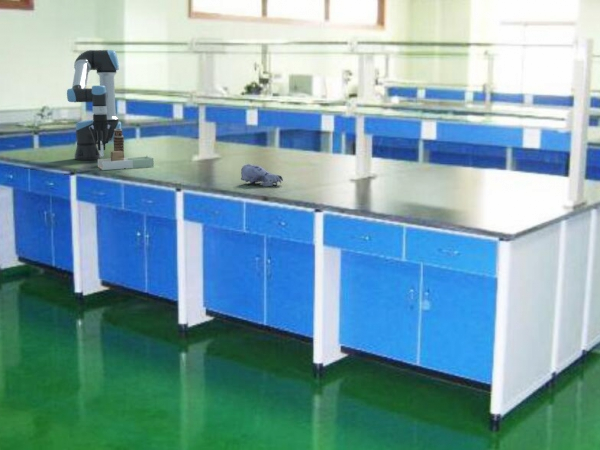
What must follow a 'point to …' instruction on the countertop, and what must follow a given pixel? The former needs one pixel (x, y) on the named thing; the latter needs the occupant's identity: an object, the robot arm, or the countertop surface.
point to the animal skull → (259, 175)
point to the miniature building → (118, 140)
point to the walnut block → (117, 155)
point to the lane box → (126, 163)
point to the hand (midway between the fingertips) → (101, 156)
